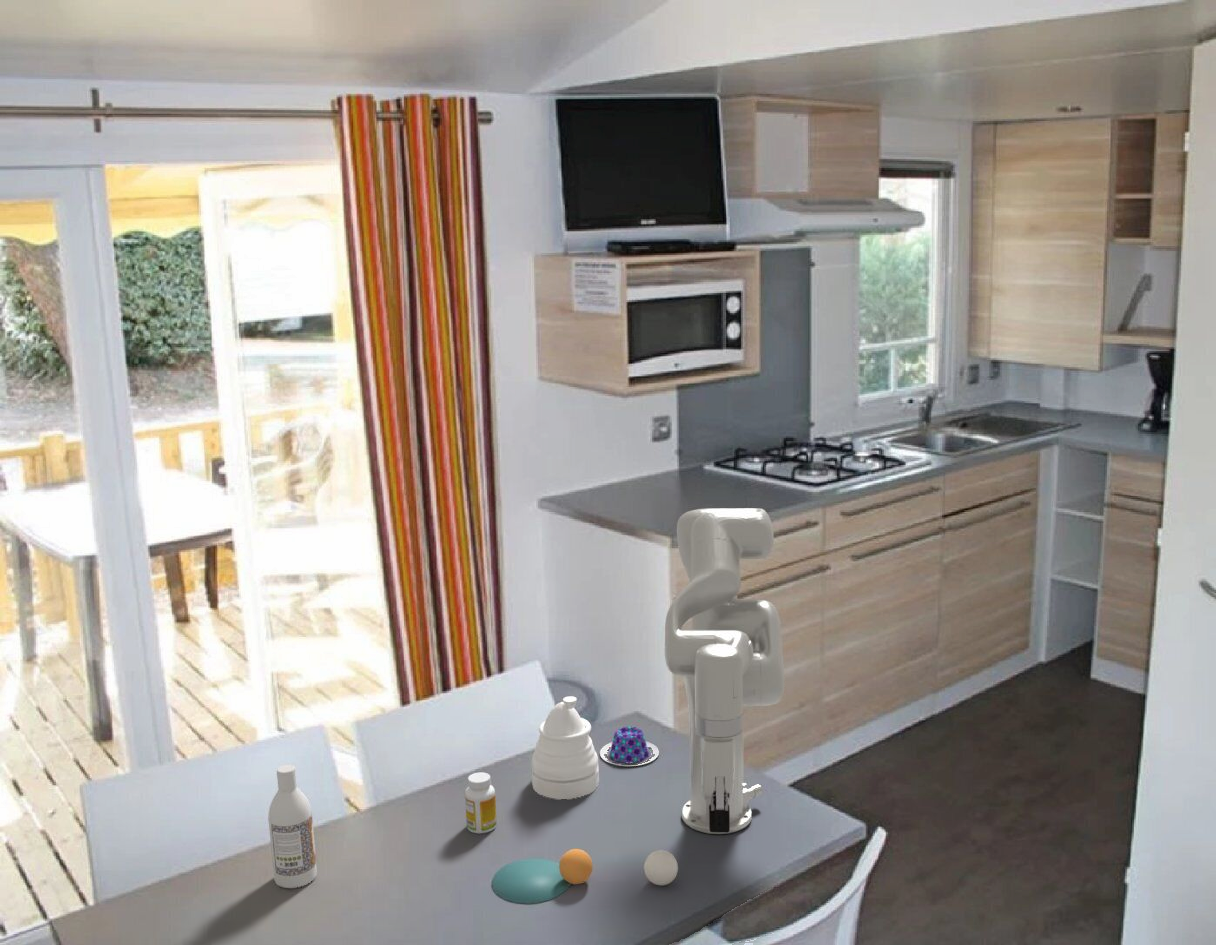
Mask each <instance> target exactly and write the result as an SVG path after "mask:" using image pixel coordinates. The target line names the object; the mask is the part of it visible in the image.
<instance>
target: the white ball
mask: <svg viewBox="0 0 1216 945" xmlns="http://www.w3.org/2000/svg"><path fill="white" fill-rule="evenodd" d="M643 867H644V869H643V870H644V874H645V876H646V878H647V880H648V881H650V882H651V883H652V884H653V885H657V886H666V885H668V884H669V885H670V883H672V882H673V881H674V880H675V879H676V877H677V874H678V871H679V865H678V861H677V859H676V857H675V856H674V854H672V853H671V852H669V851H668V850H665V849H658V850H655V851H652V852H651V853H650V854H649V855H647V857H646V858H645V862H644V866H643Z"/></svg>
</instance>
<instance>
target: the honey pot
mask: <svg viewBox="0 0 1216 945" xmlns="http://www.w3.org/2000/svg"><path fill="white" fill-rule="evenodd" d="M577 701H578V700H577V697H575V696H573V695H571V696H565V697H564V698H563V699H562V701H561V702H558V703H557V704H555V705H554V706H553V708H552V709H551V710H550V711H549V713H548V715H547V717H546V719H545V721H542V723H541V724H539V727H538V732H539V736H538V739H537V741H536V744H535V749H534V753H533V754H532V756H531V784H532V785H531V786H532V789H533V790H534V791H535V793H536V792H537V794H538V795H540V796H541V795H544V796H547V797H551V798H556V799H555V800H561V799H567V800H573V799H572V798H575V799H577V798H576V797H579V798H582V797H581V796H583V797H585V796H584V795H586V796H588V795H590V794H591V793H593V792H594V791H595V790H596V789H597V788H598V787H599V784H598V783H600V775H599V774H600V772H599V756H598V754H597V751H596V750H595V746H594V744H593V740H592V738H591V737H590V736H589V734H590V733H591V731H592V725H591V723H590V722H589V720H587V719H586V718H584V717H581V716H580V715H579V712H578V711H577V710H576V708H575V707H576V704H577ZM596 787H597V788H596ZM587 794H588V795H587ZM544 796H543V797H544ZM547 797H546V798H547ZM551 798H550V799H551Z"/></svg>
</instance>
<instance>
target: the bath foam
mask: <svg viewBox="0 0 1216 945" xmlns="http://www.w3.org/2000/svg"><path fill="white" fill-rule="evenodd" d="M276 778H277V779H276V780H277V788H278V790H277V792H276V794H275V795H274V796H273V798H272V800H271V803H270V805H269V809H268V828H269V829H268V830H269V837H270V848H271V860H272V868H273V869H272V870H273V880H274V882H275V884H276V885H277V886H279V887H281V888H284V889H297V887H298V888H302V887H305V886H306V885H309V884H310V883H312V882H313V881H314V880H315V879H316V877H317V872H318V868H317V858H316V846H315V844H316V843H315V833H314V823H313V811H312V807H311V804H310V801H309V799H308V798H307V797H306V795H305V793H303V792H302V791H301V790H300V788H299V787H297V784H298V783H297V776H296V767H295V766H294V765H291V764H284V765H281V766H279V767H277V769H276ZM311 881H312V882H311ZM308 883H309V884H308ZM301 886H302V887H301Z"/></svg>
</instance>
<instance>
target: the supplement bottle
mask: <svg viewBox="0 0 1216 945" xmlns="http://www.w3.org/2000/svg"><path fill="white" fill-rule="evenodd" d="M491 782H492V781H491V775H490V774H489V773H487V772H483V771H482V772H481V771H480V772H474V773H472V774H470V775H468V777H467V785H468V787H466V789H465V790H464V791H465V792H464V799H465V802H464V803H465V818H466V828H467V830H468V831H469V832H471V833H473V834H486V833H490V832H493V831H494V830H495V829H496V827H497V823H498V821H497V819H498V818H497V804H496V801H497V800H496V789H495V787H494V786H493V785H492V783H491Z"/></svg>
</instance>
